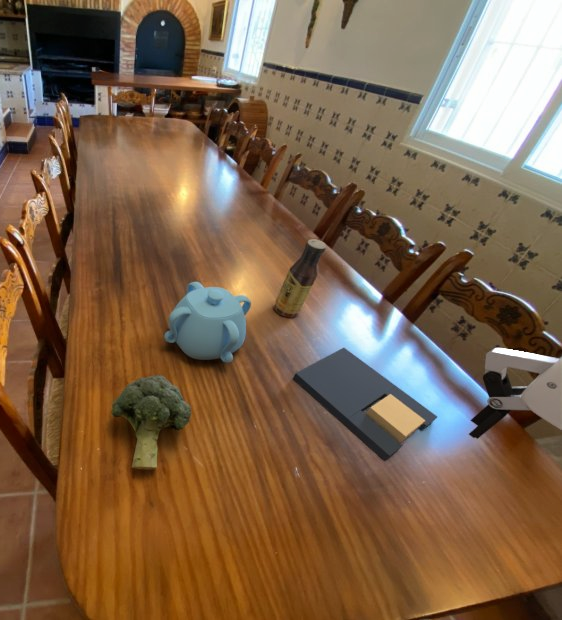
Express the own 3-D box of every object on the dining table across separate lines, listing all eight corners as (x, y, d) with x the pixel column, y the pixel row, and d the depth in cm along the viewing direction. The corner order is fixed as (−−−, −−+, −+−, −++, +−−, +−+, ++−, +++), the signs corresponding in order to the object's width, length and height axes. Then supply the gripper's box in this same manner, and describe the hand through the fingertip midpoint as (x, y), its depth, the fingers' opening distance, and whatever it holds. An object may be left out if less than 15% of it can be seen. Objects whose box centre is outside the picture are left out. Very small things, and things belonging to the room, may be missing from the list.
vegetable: (87, 458, 55) (108, 365, 61) (140, 469, 63) (154, 386, 69) (147, 470, 47) (164, 362, 53) (198, 481, 55) (208, 386, 61)
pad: (415, 430, 66) (425, 420, 64) (395, 446, 63) (405, 436, 61) (381, 403, 70) (390, 393, 68) (362, 417, 67) (370, 407, 65)
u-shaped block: (432, 422, 68) (437, 416, 66) (384, 461, 61) (390, 455, 60) (340, 352, 80) (343, 347, 79) (292, 378, 74) (295, 372, 72)
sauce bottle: (271, 301, 93) (298, 233, 80) (295, 305, 93) (326, 236, 80) (275, 317, 88) (304, 247, 75) (300, 321, 88) (335, 251, 75)
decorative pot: (224, 382, 72) (241, 333, 63) (154, 348, 77) (161, 299, 69) (248, 335, 83) (266, 288, 74) (186, 309, 88) (195, 262, 80)
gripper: (1037, 423, 18) (686, 544, 29) (586, 258, 29) (455, 390, 40) (1074, 496, 15) (664, 601, 26) (552, 280, 26) (420, 417, 37)
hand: (536, 472), depth 33 cm, fingers open, 9 cm apart
